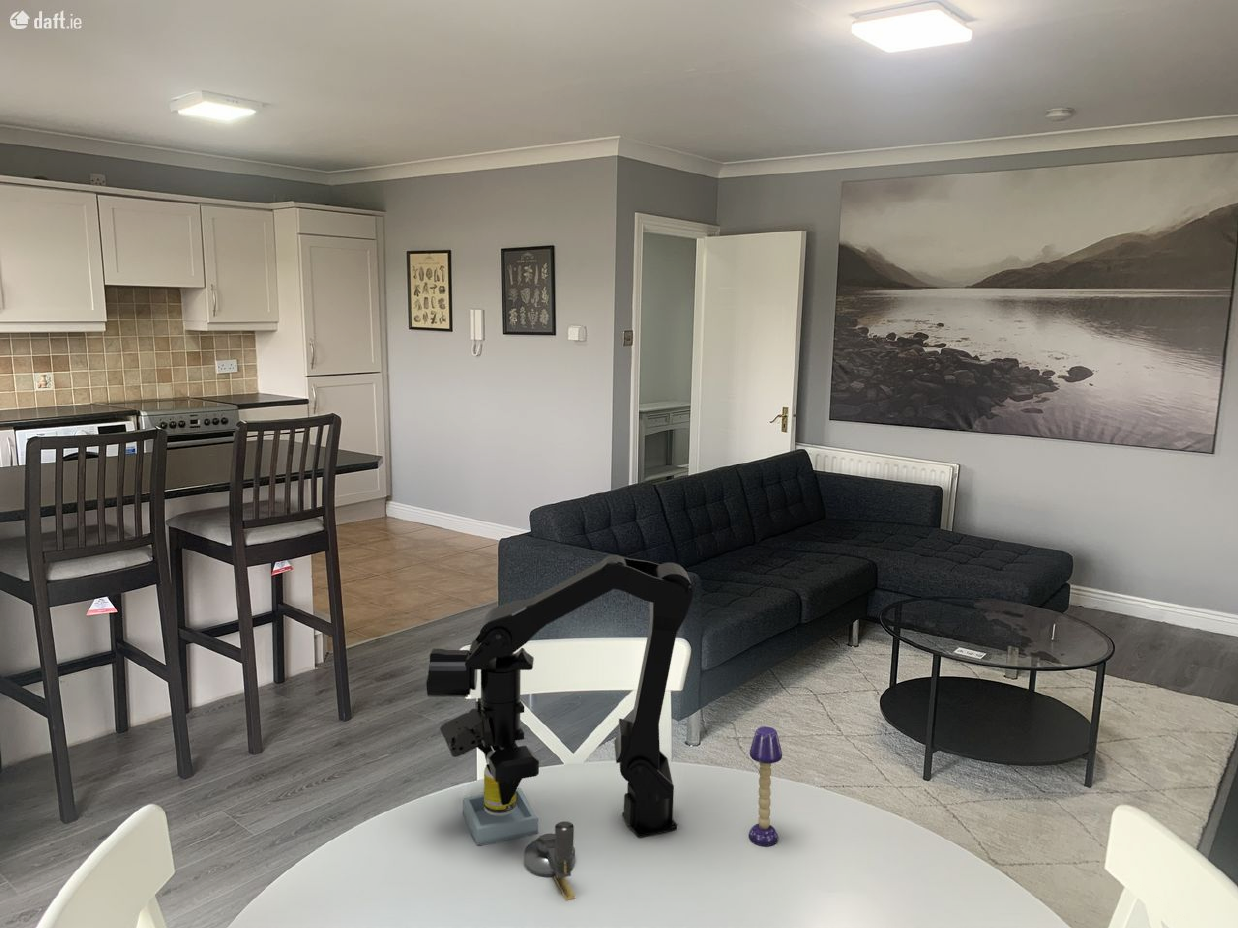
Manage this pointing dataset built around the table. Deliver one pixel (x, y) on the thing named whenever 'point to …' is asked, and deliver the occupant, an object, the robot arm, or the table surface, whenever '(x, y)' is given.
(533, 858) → the crank base
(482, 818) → the tray
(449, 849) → the table surface
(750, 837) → the toy lamp
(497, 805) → the supplement bottle
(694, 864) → the table surface
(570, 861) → the crank
